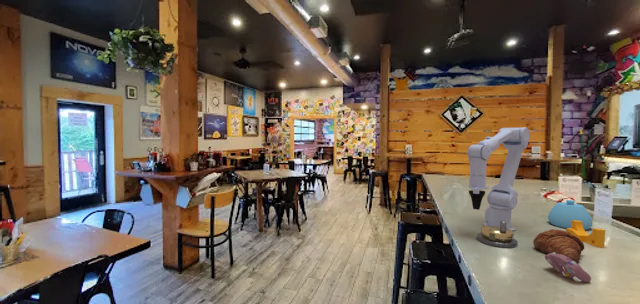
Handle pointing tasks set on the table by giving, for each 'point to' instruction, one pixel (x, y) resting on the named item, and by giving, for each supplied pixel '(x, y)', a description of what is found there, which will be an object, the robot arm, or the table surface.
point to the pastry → (559, 244)
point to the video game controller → (567, 266)
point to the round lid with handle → (497, 233)
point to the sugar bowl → (569, 215)
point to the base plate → (497, 244)
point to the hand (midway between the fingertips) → (476, 209)
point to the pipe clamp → (593, 239)
